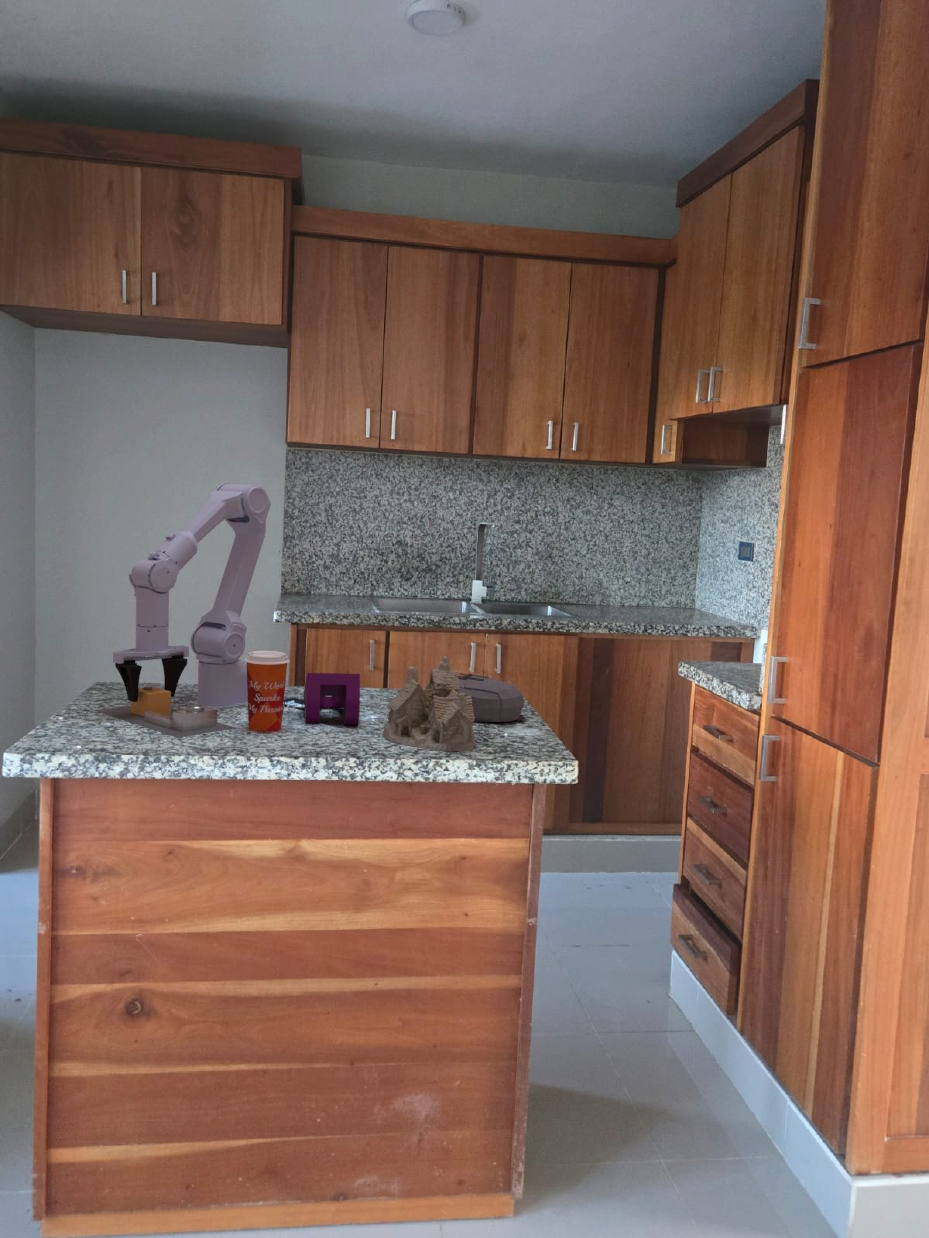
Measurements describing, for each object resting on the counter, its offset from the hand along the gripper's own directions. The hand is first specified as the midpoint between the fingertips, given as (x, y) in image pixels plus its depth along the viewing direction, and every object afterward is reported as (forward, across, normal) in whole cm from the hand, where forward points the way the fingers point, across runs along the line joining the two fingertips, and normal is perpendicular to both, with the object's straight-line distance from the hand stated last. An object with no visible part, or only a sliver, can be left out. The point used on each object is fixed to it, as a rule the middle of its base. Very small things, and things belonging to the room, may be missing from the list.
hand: (151, 698), depth 184 cm
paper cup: (+4, +9, -22) cm, 24 cm away
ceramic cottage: (+4, +28, -44) cm, 52 cm away
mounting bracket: (+4, +26, -19) cm, 33 cm away
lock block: (+3, 0, 0) cm, 3 cm away
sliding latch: (+3, 0, -10) cm, 10 cm away
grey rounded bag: (+4, +51, -35) cm, 62 cm away
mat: (+3, -1, -5) cm, 6 cm away
